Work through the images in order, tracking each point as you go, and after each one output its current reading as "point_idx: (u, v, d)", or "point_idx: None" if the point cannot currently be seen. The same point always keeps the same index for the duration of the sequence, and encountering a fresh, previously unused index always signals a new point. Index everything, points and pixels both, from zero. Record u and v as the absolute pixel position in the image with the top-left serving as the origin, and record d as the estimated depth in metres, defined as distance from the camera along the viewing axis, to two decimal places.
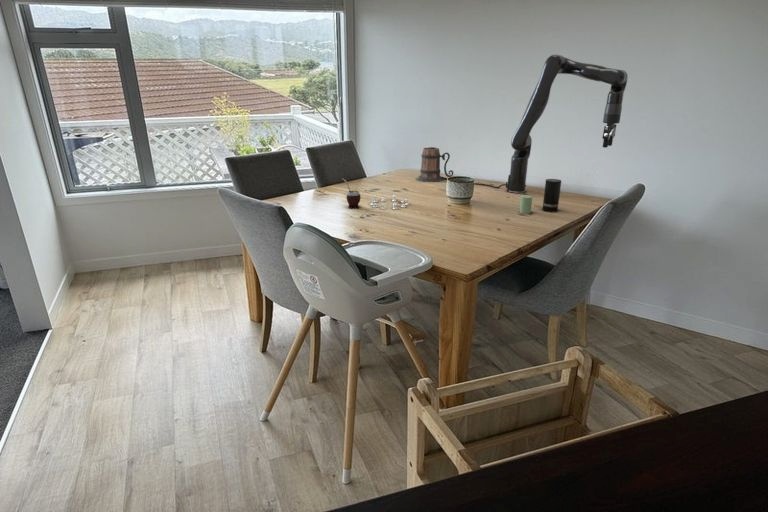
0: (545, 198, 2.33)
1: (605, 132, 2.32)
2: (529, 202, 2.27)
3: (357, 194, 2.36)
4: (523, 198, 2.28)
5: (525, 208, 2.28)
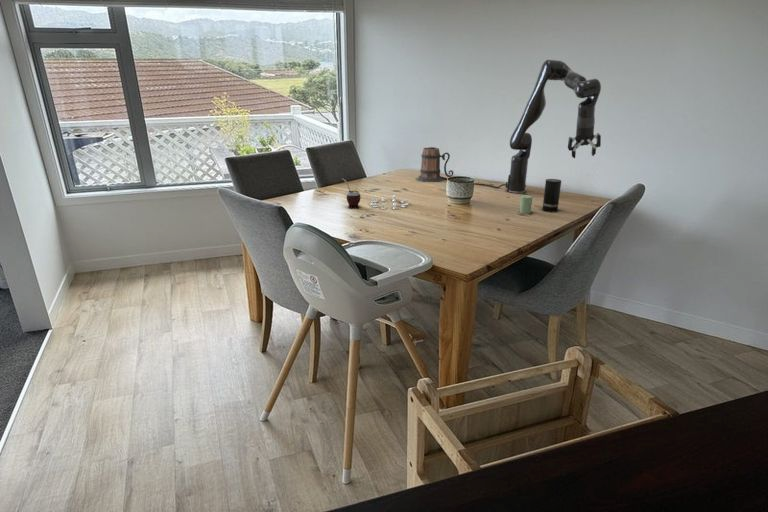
0: (545, 198, 2.33)
1: (568, 143, 2.25)
2: (529, 202, 2.27)
3: (357, 194, 2.36)
4: (523, 198, 2.28)
5: (525, 208, 2.28)
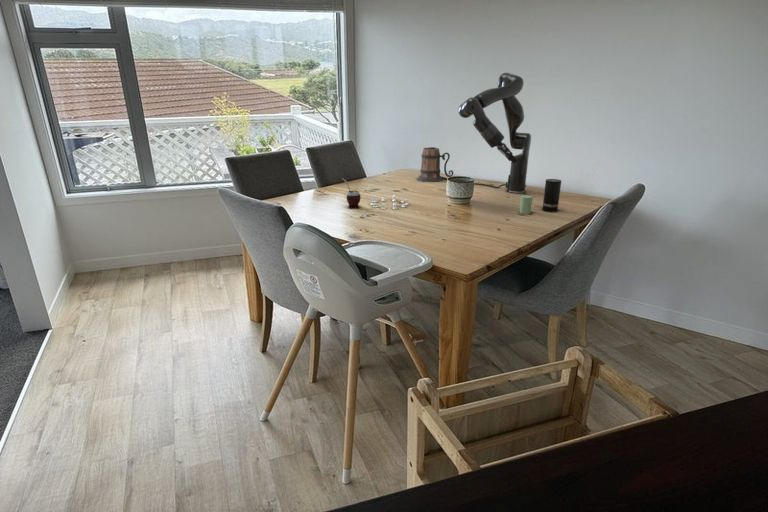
0: (545, 198, 2.33)
1: None
2: (529, 202, 2.27)
3: (357, 194, 2.36)
4: (523, 198, 2.28)
5: (525, 208, 2.28)
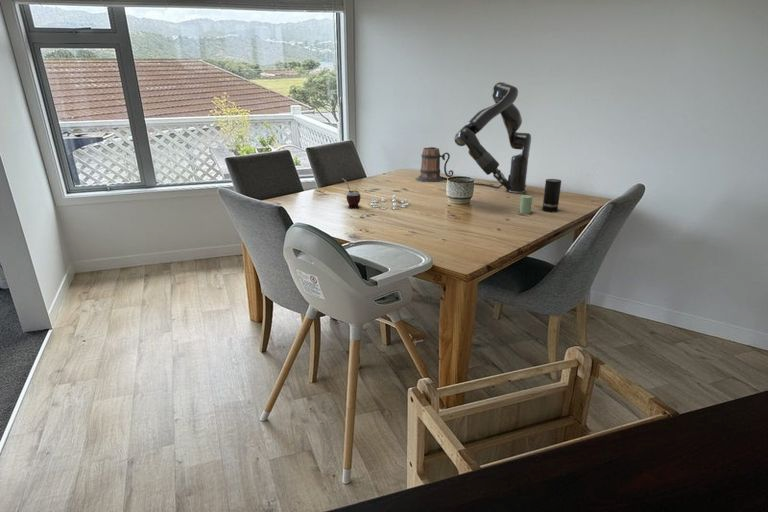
0: (545, 198, 2.33)
1: None
2: (529, 202, 2.27)
3: (357, 194, 2.36)
4: (523, 198, 2.28)
5: (525, 208, 2.28)
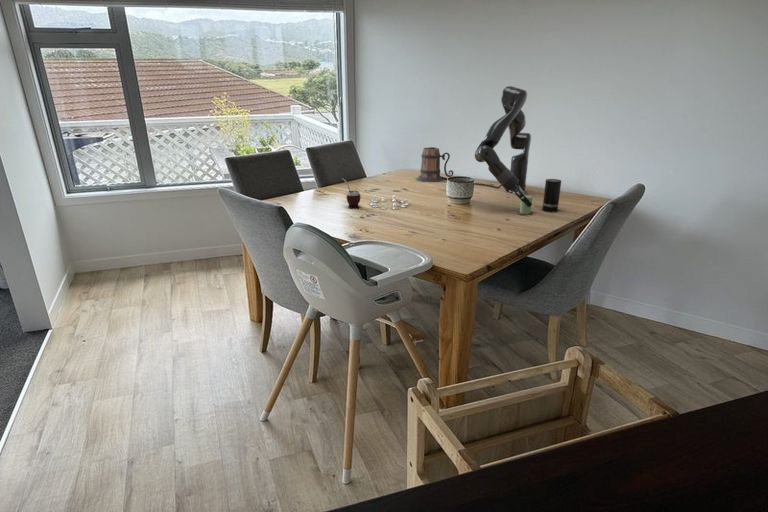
0: (545, 198, 2.33)
1: None
2: None
3: (357, 194, 2.36)
4: None
5: (525, 208, 2.28)
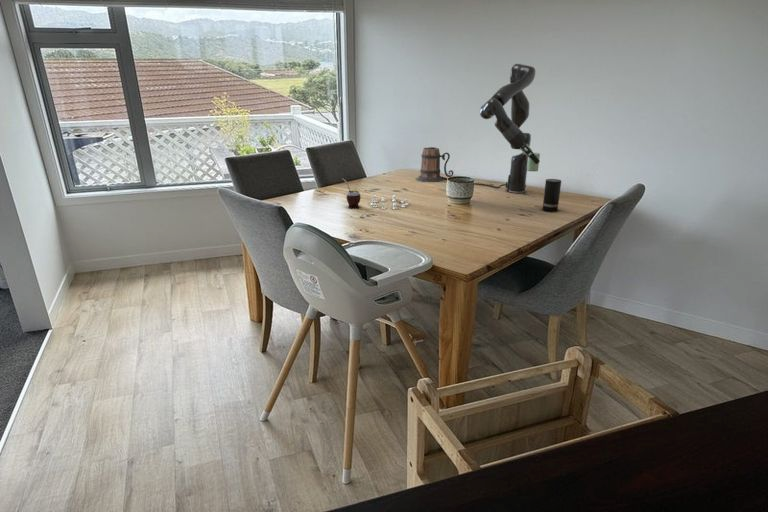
0: (545, 198, 2.33)
1: None
2: None
3: (357, 194, 2.36)
4: None
5: (532, 165, 2.22)
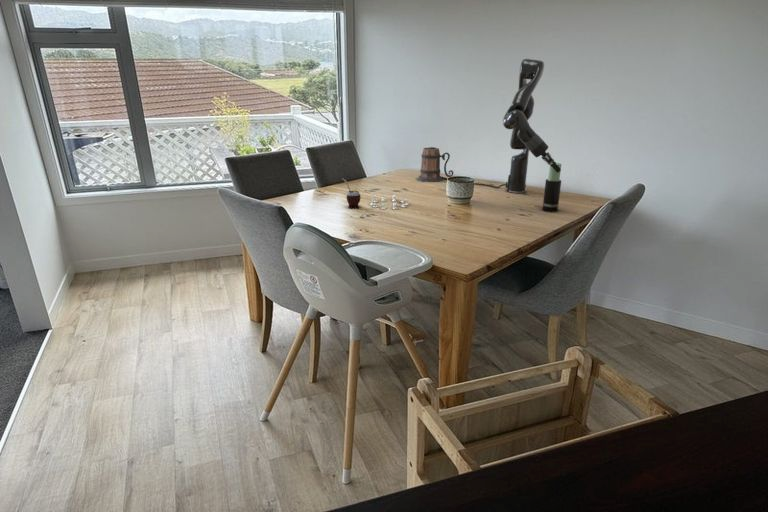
0: (545, 198, 2.33)
1: None
2: None
3: (357, 194, 2.36)
4: None
5: (554, 175, 2.28)
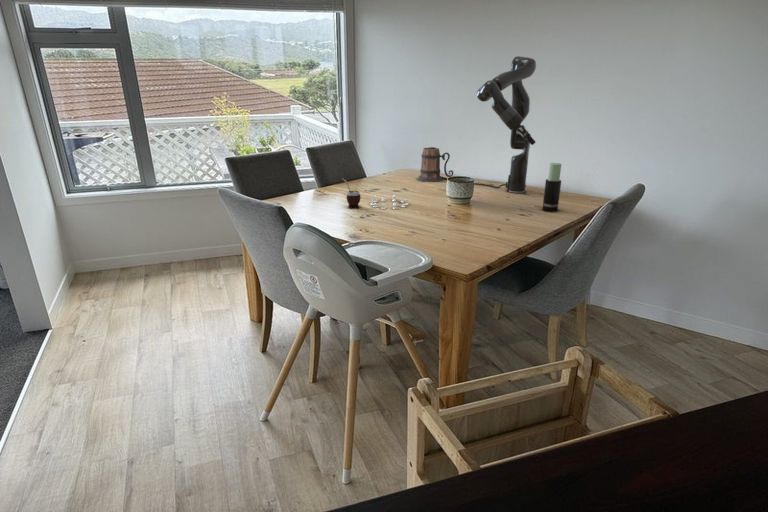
0: (545, 198, 2.33)
1: None
2: (558, 169, 2.27)
3: (357, 194, 2.36)
4: (552, 165, 2.27)
5: (554, 175, 2.28)
